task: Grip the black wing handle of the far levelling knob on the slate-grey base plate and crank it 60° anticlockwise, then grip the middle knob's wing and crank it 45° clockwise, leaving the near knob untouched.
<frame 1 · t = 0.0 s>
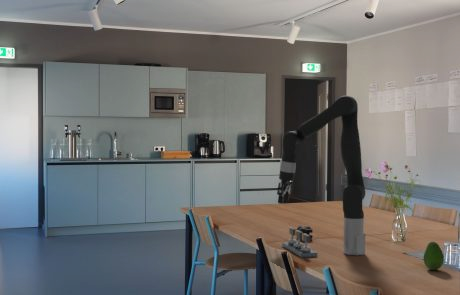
hand: (283, 202, 280), 22 cm above the table, tool pointing down, fingers open, 8 cm apart
level plate: (299, 251, 269), on the table
end cap: (304, 239, 300), on the table
knob mid: (299, 239, 268), point 6 cm above the table, hinge at 0.0°
avocado: (433, 270, 233), on the table
knob near: (306, 242, 260), point 6 cm above the table, hinge at 0.0°
knob far: (292, 235, 277), point 6 cm above the table, hinge at 0.0°
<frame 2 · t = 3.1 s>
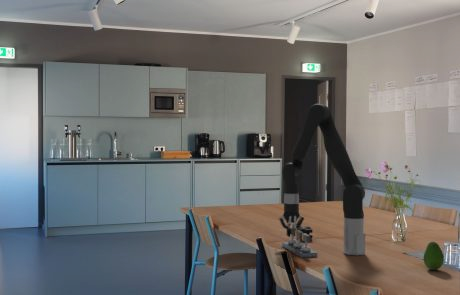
hand: (291, 236, 279), 5 cm above the table, tool pointing down, fingers closed on knob far, 2 cm apart
knob far: (292, 235, 277), point 6 cm above the table, hinge at 0.0°, touching gripper
everything else where it was.
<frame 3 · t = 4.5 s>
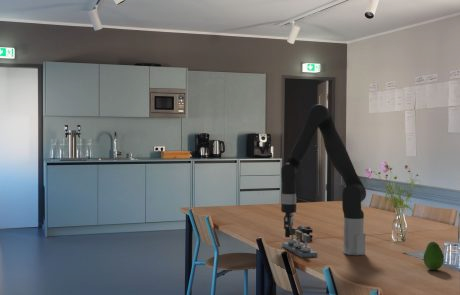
hand: (288, 236, 278), 6 cm above the table, tool pointing down, fingers open, 6 cm apart
knob far: (292, 235, 277), point 6 cm above the table, hinge at 37.5°
everything else where it was.
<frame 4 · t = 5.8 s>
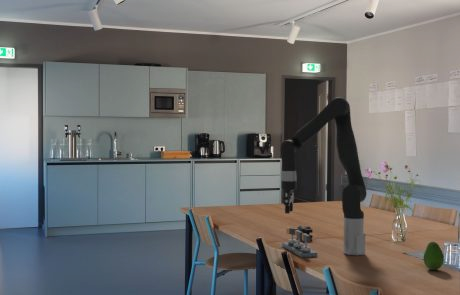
hand: (289, 212, 277), 18 cm above the table, tool pointing down, fingers open, 8 cm apart
knob far: (292, 235, 277), point 6 cm above the table, hinge at 41.6°
everything else where it was.
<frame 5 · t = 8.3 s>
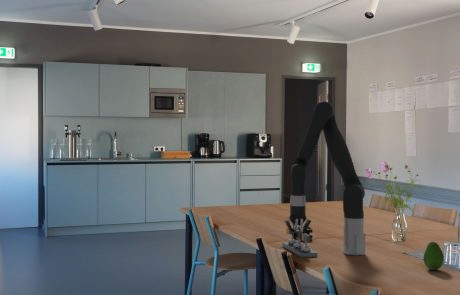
hand: (297, 239, 270), 5 cm above the table, tool pointing down, fingers closed on knob mid, 2 cm apart
knob mid: (299, 239, 268), point 6 cm above the table, hinge at 0.0°, touching gripper
knob far: (292, 235, 277), point 6 cm above the table, hinge at 42.7°
everything else where it was.
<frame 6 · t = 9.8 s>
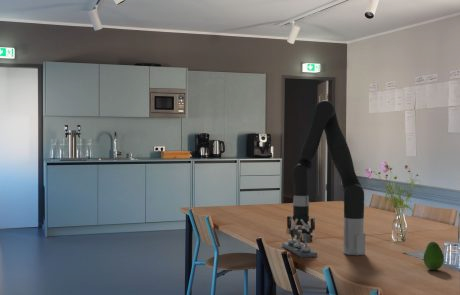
hand: (300, 238, 270), 6 cm above the table, tool pointing down, fingers open, 7 cm apart
knob mid: (299, 239, 268), point 6 cm above the table, hinge at -30.1°
everything else where it was.
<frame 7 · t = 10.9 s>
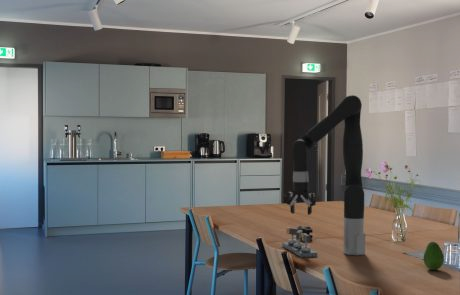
hand: (301, 213, 270), 18 cm above the table, tool pointing down, fingers open, 8 cm apart
knob mid: (299, 239, 268), point 6 cm above the table, hinge at -34.0°
everything else where it was.
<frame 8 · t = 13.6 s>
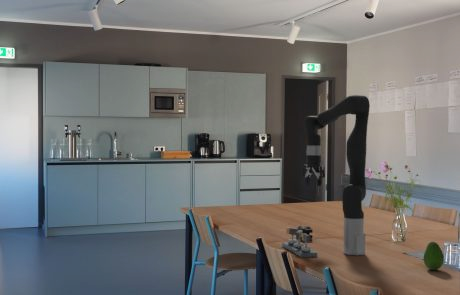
hand: (313, 185, 289), 30 cm above the table, tool pointing down, fingers open, 8 cm apart
knob mid: (299, 239, 268), point 6 cm above the table, hinge at -35.4°
everything else where it was.
at the end: knob far at +43° (first picture: +0°); knob mid at -35° (first picture: +0°); knob near at +0° (first picture: +0°) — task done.
